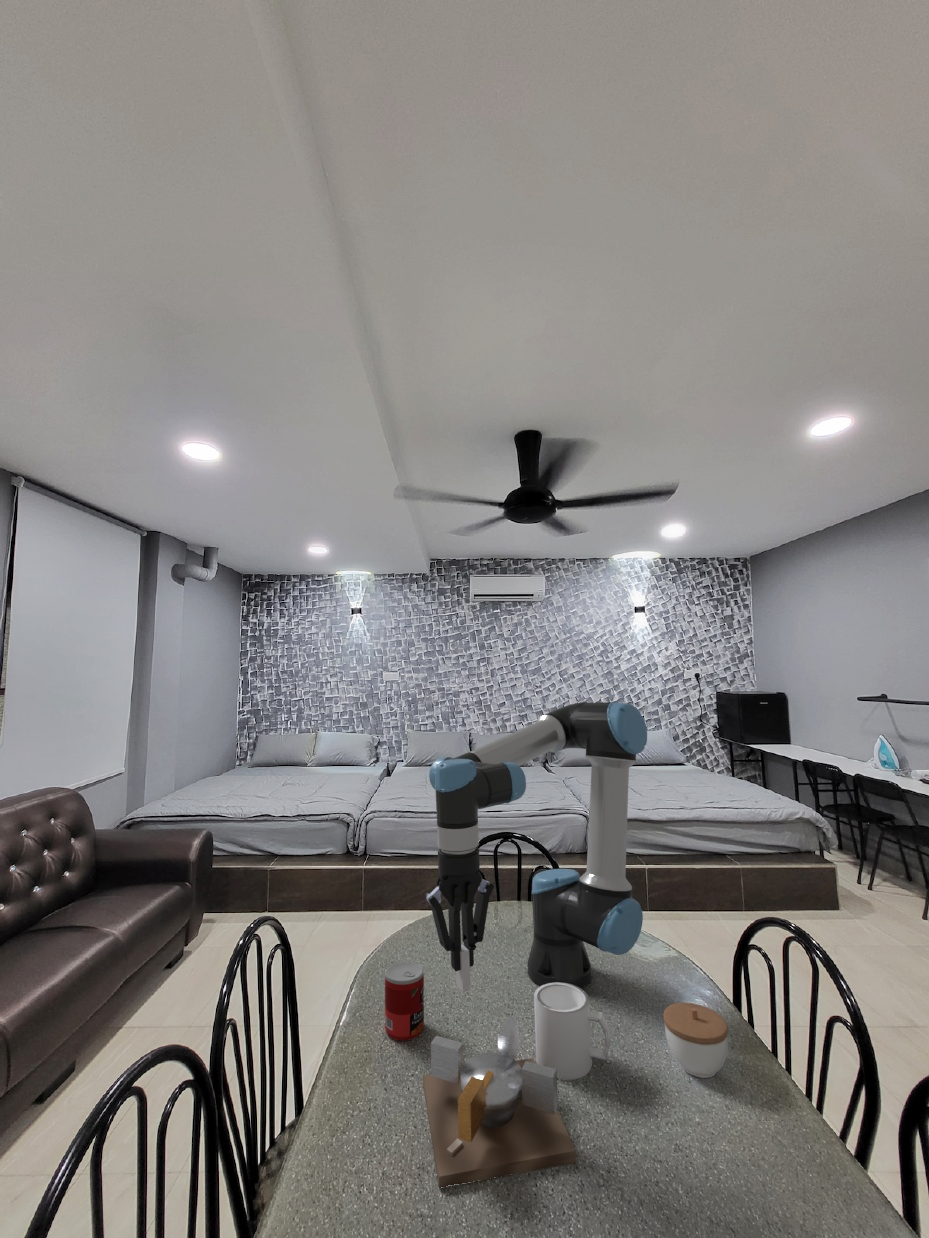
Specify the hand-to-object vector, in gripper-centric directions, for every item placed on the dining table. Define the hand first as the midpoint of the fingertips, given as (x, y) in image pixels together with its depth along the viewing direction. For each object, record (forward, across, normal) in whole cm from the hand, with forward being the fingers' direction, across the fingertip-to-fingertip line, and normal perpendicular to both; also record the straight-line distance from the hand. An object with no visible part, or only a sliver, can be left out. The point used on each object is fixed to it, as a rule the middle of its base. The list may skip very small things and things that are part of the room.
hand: (463, 986), depth 94 cm
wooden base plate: (+16, 0, +8) cm, 18 cm away
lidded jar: (+17, -39, +15) cm, 45 cm away
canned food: (+16, +4, -20) cm, 26 cm away
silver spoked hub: (+12, -1, +8) cm, 14 cm away
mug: (+17, -19, +3) cm, 26 cm away
